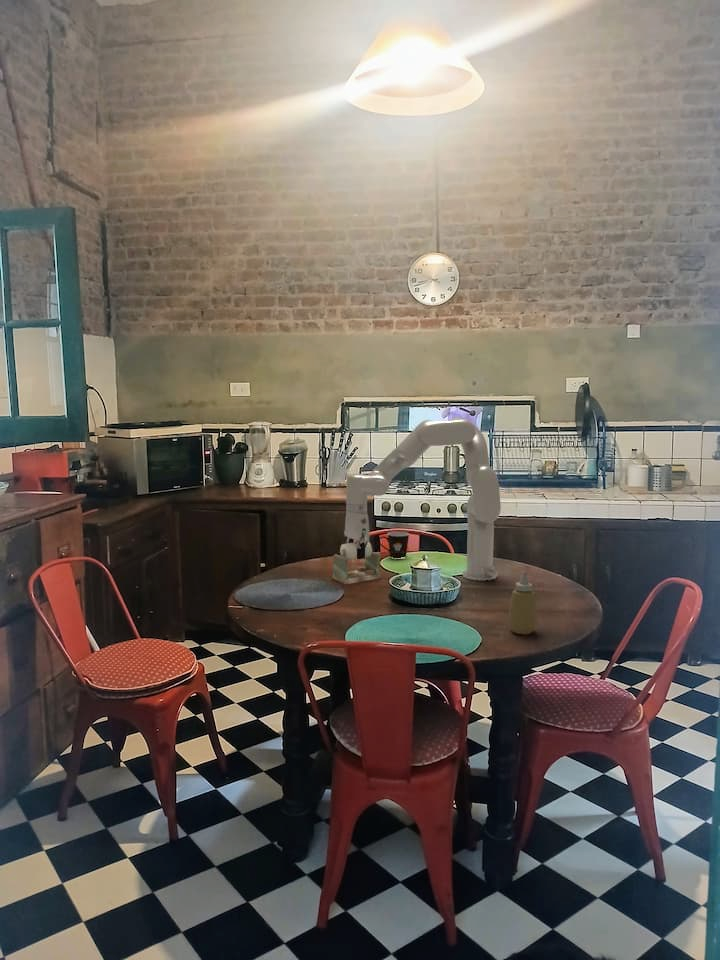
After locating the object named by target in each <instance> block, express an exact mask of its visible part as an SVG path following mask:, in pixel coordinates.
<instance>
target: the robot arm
mask: <svg viewBox="0 0 720 960" xmlns="http://www.w3.org/2000/svg"><path fill="white" fill-rule="evenodd" d="M450 445H451V446H452V445H453V446H454V445H461V447H462V449H463V454H464V463H465V464H464V465H465V476H466V477H465V478H466V482H467V484H468V485H469V487H471V489H472V494H471V495H470V496H469V498H468V499H467V502H466V516H467V536H466V537H467V538H466V539H467V540H466V541H467V543H466V549H467V550H466V570H464V571H462V575H463V576H462V577H463V578H465V579H468V580H471V581H477V580H478V581H479V582H482V581H483V582H486V580H488V581H493V580H495V579H496V578H497V576H498V575H499V571H497V570H495V566H494V565H493V564H494V562H493V561H494V540H495V539H494V536H495V521H496V520H497V519H498V518H499V516H500V514H501V493H500V484H499V478H498V475H497V473H496V471H495V470H494V469H493V468H492V467H491V465H490V459H489V458H490V457H489V451H488V450H489V449H488V446H487V441H486V438H485V435H484V434H483V433H482V430H480V428H478V426H477V425H476V424H474V423H473V422H471V421H470V420H469V419H466V418H462V417H454V418H452V419H450V420H447V421H446V420H445V421H444V420H443V421H434V420H430V419H426V420H423V421H421V422H420V423H419V424H417V426H416V427H415V428H414V429H412V431H411V432H410V433H409V434H408V435H407V436H406V437H405V438H404V439H403V440H402V442H400V443H399V445H397V447H395V448H394V449H393V450H392V451H391V452H390V453H389V454H388V455H387V456H386V457H385V458H383V460H381V461H380V463H379V464H377V466H375V468H374V469H372V471H371V472H370V473H369V474H368V475H366V474H363V473H350V474H348V475H347V476H346V493H345V494H346V497H345V499H346V500H345V504H346V508H345V509H346V510H345V512H346V514H345V518H344V520H345V522H344V530H343V534H344V537H345V540H346V543H345V544H347V543H355V541H356V542H357V544H358V548H357V559H356V560H365V548H366V545H367V543H368V542H370V521H369V515H368V495H370V496H375V497H377V496H378V497H381V496H384V495H386V494H387V493H388V492H389V489H390V482H391V481H392V480H393V479H394V477H396V476H397V475H398V474H399V473H400V472H402V471H403V470H405V469H407V468H409V467H411V466H412V465H414V464H415V463H416V462H417V461H418V460H419V459H420V458H421V457H422V456H423V455H424V454H425V452H426V451H427V450H428V449H430V448H431V447H432V446H433V447H435V446H437V447H439V446H450ZM360 542H362V543H361V544H360ZM492 579H493V580H492Z"/></svg>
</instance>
